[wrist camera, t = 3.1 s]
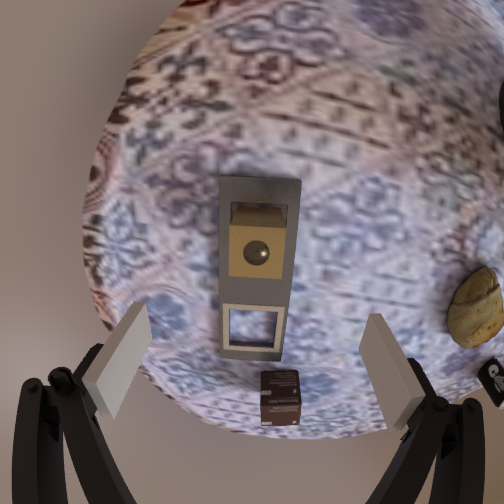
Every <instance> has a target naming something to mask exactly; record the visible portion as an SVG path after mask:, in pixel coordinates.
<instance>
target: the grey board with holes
mask: <svg viewBox="0 0 504 504" xmlns="http://www.w3.org/2000/svg"><path fill="white" fill-rule="evenodd" d="M301 186H302V181H301V180H298V179H284V178H269V177H251V176H224V175H221V176H220V189H219V321H220V358H226V359H238V360H254V361H276V362H281V357H282V350H283V344H284V337H285V330H286V323H287V315H288V308H289V300H290V292H291V284H292V276H293V267H294V258H295V249H296V240H297V230H298V220H299V209H300V197H301ZM232 202H252V203H270V204H285V205H287V216H286V237H285V248H284V258H283V269H282V279H270V278H252V277H236V276H229V229H230V223H231V210H232ZM230 309H237V310H253V311H272V312H277V319H276V328H275V336H274V343H257V342H241V341H230Z"/></svg>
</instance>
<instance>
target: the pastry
mask: <svg viewBox="0 0 504 504" xmlns="http://www.w3.org/2000/svg"><path fill="white" fill-rule="evenodd" d="M447 316H448V321H447V328H448V329H449V331H450V332H451V337H452V339H453V341H455V342H456V343H457V344H458V345H459V346H461V347H463V348H464V349H465V348H466V349H468V348H477V347H478V346H480V344H482V343H485V342H487V341H489V340H490V339H491V338H492V337H495V336H496V335H497V334H498V332H499V331H500V330H501V328H502V327H503V325H504V308H503V298H502V294H501V289H500V284H499V283H498V279H497V276H496V274H495V272H494V271H493V270H492V269H490V268H488V267H483V268H481V269H479V270H478V271H476V272H475V273H474V274H472V275H471V276H470V277H469V278H467V280H465V281H464V283H462V285H461V286H460V287H459V288H458V289H457V291H456V292H455V294H454V298H453V299H452V303H451V305H450V308H449V311H448V315H447Z"/></svg>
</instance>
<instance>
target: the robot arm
mask: <svg viewBox="0 0 504 504" xmlns="http://www.w3.org/2000/svg"><path fill="white" fill-rule="evenodd" d="M500 114H501V120H502V125H503V129H504V82H503V84H502V87H501V91H500ZM151 341H152V334H151V329H150V324H149V319H148V313H147V308H146V303H143V302H135V301H134V302H133V304H132V305H131V307H130V308H129V309H128V311H127V312H126V314H125V315H124V316H123V318H122V319H121V321H120V322H119V323H118V325H117V326H116V328H115V329H114V331H113V332H112V334H111V335H110V337H109V338H108V339H107V341H106V342H105V344H99V343H97V344H96V345H95V346H93V347H92V348H90V350H89V351H88V353H87V354H86V356H85V357H84V358H83V361H81V363H80V364H79V366H78V367H77V369H76V370H75V372H74V373H73V374H72V373H71V370H70V369H68V368H66V367H58V368H55V369H53V370H52V371H51V372H50V374H49V376H48V381H49V383H50V385H51V386H44V385H43V384H42V382H41V380H39V379H38V378H30V379H28V380H26V381H25V382H24V383H23V385H22V389H21V394H20V398H19V404H18V410H17V417H16V424H15V432H14V441H13V456H12V501H13V502H12V503H13V504H68V499H67V491H66V482H65V471H64V455H63V432H64V436H65V439H66V443H67V446H68V449H69V452H70V456H71V459H72V462H73V465H74V468H75V471H76V473H77V476H78V479H79V481H80V484H81V486H82V489H83V491H84V494H85V496H86V498H87V500H88V503H89V504H137V503H136V501H135V500H134V498H133V496H132V494H131V493H130V491H129V489H128V487H127V486H126V484H125V482H124V480H123V478H122V476H121V474H120V472H119V470H118V468H117V466H116V464H115V461H114V459H113V457H112V455H111V453H110V451H109V448H108V446H107V444H106V441H105V439H104V436H103V434H102V431H101V429H100V426H99V424H98V421H97V418H96V416H95V415H94V414H95V412H96V410H97V409H98V411H99V413H100V415H101V416H104V417H107V418H111V419H115V416H116V414H117V412H118V410H119V407H120V405H121V403H122V401H123V399H124V397H125V395H126V393H127V390H128V388H129V386H130V384H131V382H132V379H133V378H134V376H135V373H136V371H137V369H138V367H139V365H140V363H141V361H142V359H143V357H144V355H145V353H146V351H147V349H148V347H149V345H150V343H151ZM359 352H360V354H361V357H362V359H363V362H364V364H365V367H366V370H367V372H368V375H369V378H370V380H371V383H372V386H373V388H374V391H375V394H376V397H377V400H378V402H379V405H380V408H381V411H382V414H383V417H384V420H385V423H386V426H387V429H388V432H393V431H397V430H402V428H403V427H404V426H405V425H406V423H407V425H408V427H409V429H408V430H407V432H406V433H405V434H404V436H403V437H402V438H401V439H400V440H402V442H401V444H400V446H399V448H398V450H397V452H396V454H395V456H394V458H393V459H392V461H391V463H390V465H389V467H388V469H387V470H386V472H385V474H384V475H383V477H382V479H381V480H380V482H379V484H378V485H377V487H376V488H375V490H374V492H373V493H372V495H371V496H370V498H369V499H368V501H367V502H366V503H365V504H414V503H415V501H416V499H417V497H418V495H419V493H420V491H421V489H422V487H423V485H424V483H425V480H426V478H427V475H428V473H429V471H430V468H431V466H432V463H433V461H434V459H435V456H436V453H437V456H436V464H435V471H434V478H433V484H432V489H431V495H430V499H429V504H483V493H484V480H485V436H484V422H483V411H482V406H481V404H480V403H479V401H477V400H476V399H474V398H467V399H465V400H464V402H463V403H462V404H461V405H459V404H458V405H457V404H449V402H448V401H447V400H446V399H445V398H443V397H440V396H437V395H436V393H435V391H434V389H433V387H432V386H431V384H430V382H429V380H428V378H427V377H426V375H425V373H424V372H423V369H422V367H421V366H420V364H419V363H418V362H417V361H416V360H415V359H414V358H406V357H405V355H404V353H403V351H402V349H401V348H400V346H399V344H398V342H397V341H396V339H395V337H394V335H393V334H392V332H391V330H390V328H389V327H388V325H387V323H386V322H385V320H384V318H383V317H382V315H381V314H369V317H368V321H367V324H366V327H365V330H364V334H363V337H362V340H361V343H360V346H359Z"/></svg>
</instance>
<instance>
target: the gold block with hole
mask: <svg viewBox="0 0 504 504" xmlns="http://www.w3.org/2000/svg"><path fill="white" fill-rule="evenodd" d="M285 237H286V226H285V222H284V218H283V214H282V210H281V208H269V207H251V206H237V209H236V211H235V213H234V216H233V218H232V221H231V223H230V229H229V276H236V277H252V278H270V279H282V269H283V258H284V248H285Z"/></svg>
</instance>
